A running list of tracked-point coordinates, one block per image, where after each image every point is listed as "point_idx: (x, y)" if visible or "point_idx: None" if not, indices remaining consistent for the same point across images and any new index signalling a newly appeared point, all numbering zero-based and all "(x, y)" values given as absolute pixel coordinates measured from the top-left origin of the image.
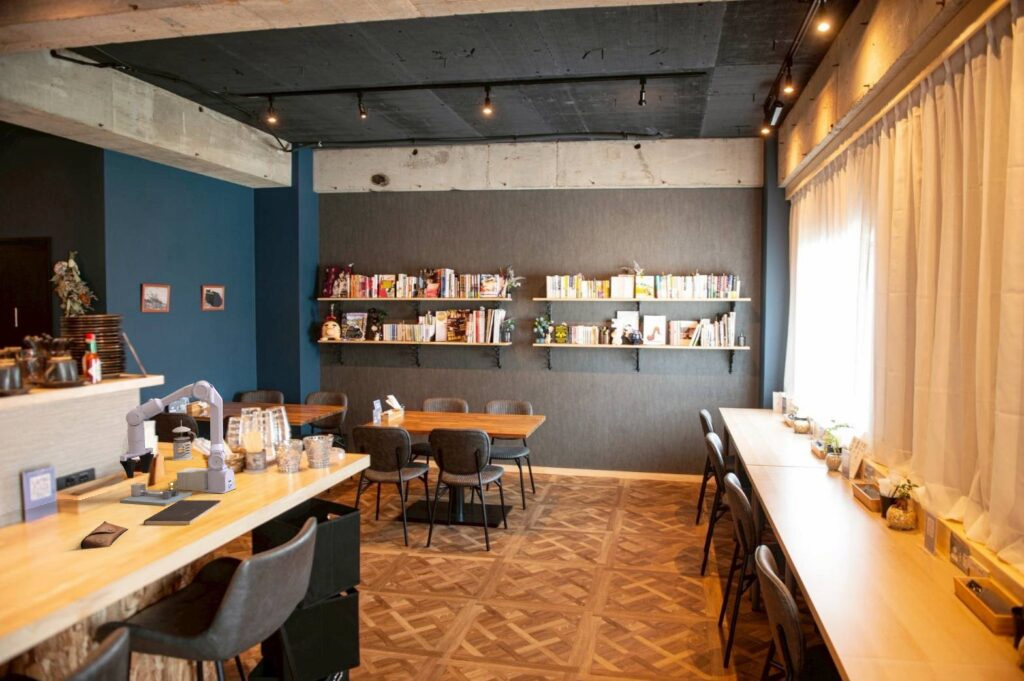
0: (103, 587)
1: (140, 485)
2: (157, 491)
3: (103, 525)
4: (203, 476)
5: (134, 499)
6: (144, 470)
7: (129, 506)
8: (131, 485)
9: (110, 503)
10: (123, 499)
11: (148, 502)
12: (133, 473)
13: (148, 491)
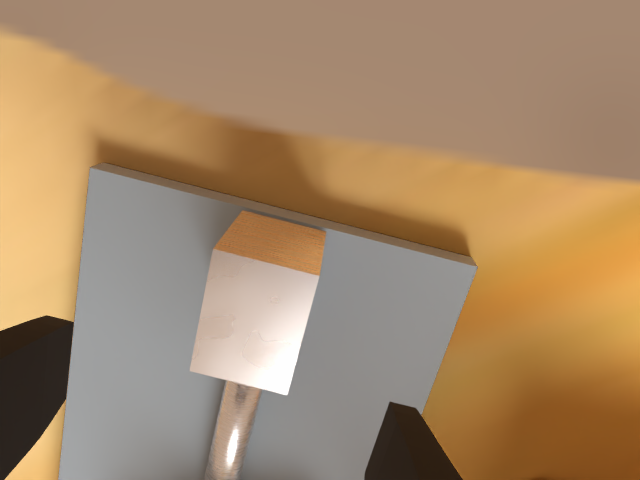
0: None
1: (202, 373)
2: (401, 387)
3: None
4: None
5: (119, 304)
6: (378, 471)
7: (4, 311)
8: (212, 255)
9: (65, 74)
10: (108, 196)
11: (64, 446)
12: (4, 467)
13: (232, 403)
